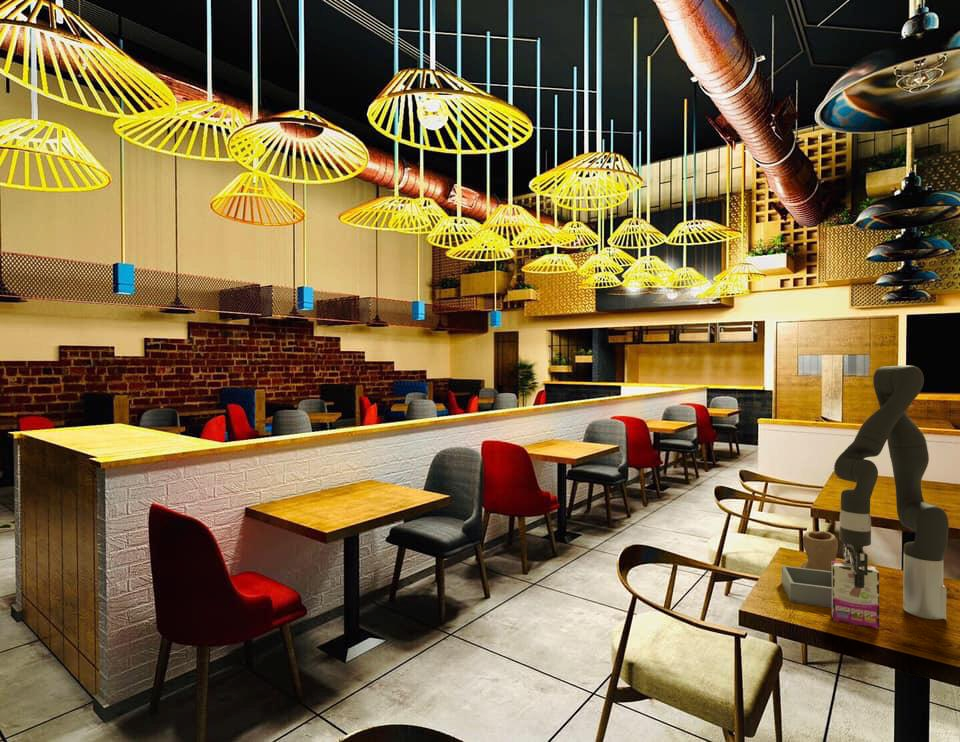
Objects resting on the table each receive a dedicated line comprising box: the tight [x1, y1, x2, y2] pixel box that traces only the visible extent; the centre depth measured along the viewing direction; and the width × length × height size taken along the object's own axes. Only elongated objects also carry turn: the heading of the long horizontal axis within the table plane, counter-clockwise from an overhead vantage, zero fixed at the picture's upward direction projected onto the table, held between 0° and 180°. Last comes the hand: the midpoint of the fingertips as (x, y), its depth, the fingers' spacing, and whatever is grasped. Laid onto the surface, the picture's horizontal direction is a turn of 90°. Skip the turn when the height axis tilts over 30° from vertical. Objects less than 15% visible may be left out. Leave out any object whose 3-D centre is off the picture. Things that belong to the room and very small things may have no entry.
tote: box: [781, 565, 832, 609], centre depth 172 cm, size 16×16×6 cm
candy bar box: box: [831, 561, 880, 630], centre depth 155 cm, size 11×5×16 cm, turn 62°
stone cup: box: [800, 530, 839, 571], centre depth 190 cm, size 15×12×15 cm
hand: (854, 581), depth 155 cm, fingers open, 8 cm apart
